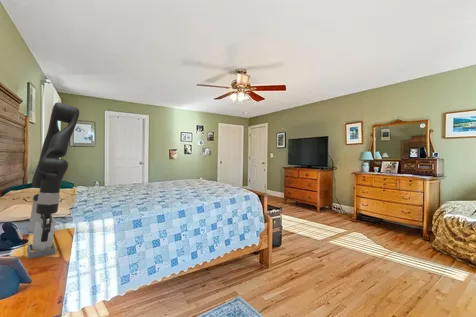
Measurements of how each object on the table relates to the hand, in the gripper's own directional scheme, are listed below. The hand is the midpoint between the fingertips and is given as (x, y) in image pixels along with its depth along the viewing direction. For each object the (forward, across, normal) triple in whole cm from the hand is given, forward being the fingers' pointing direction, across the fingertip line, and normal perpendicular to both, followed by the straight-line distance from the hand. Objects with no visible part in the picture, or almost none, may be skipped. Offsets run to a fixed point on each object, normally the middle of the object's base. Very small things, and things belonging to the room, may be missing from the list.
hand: (43, 238), depth 101 cm
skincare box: (+5, 0, 0) cm, 5 cm away
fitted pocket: (+6, 0, 0) cm, 6 cm away
